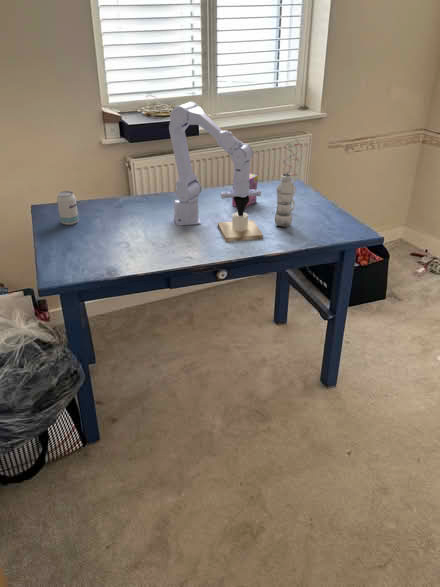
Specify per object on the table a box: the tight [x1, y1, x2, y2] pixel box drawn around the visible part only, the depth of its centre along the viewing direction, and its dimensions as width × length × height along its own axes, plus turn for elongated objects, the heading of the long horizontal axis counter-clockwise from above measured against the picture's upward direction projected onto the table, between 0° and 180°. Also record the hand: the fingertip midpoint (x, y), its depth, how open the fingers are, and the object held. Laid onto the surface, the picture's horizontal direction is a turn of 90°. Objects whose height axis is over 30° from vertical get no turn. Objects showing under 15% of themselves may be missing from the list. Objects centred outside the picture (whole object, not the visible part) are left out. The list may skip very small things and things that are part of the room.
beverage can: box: [56, 190, 80, 226], centre depth 194 cm, size 7×7×12 cm
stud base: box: [217, 219, 264, 242], centre depth 190 cm, size 14×14×6 cm
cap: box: [231, 211, 249, 232], centre depth 189 cm, size 5×6×6 cm
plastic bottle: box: [274, 173, 295, 228], centre depth 192 cm, size 6×7×20 cm
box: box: [231, 173, 259, 208], centre depth 213 cm, size 10×6×12 cm, turn 143°
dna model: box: [282, 136, 301, 212], centre depth 201 cm, size 7×6×30 cm
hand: (240, 215), depth 187 cm, fingers closed, pressing on cap
